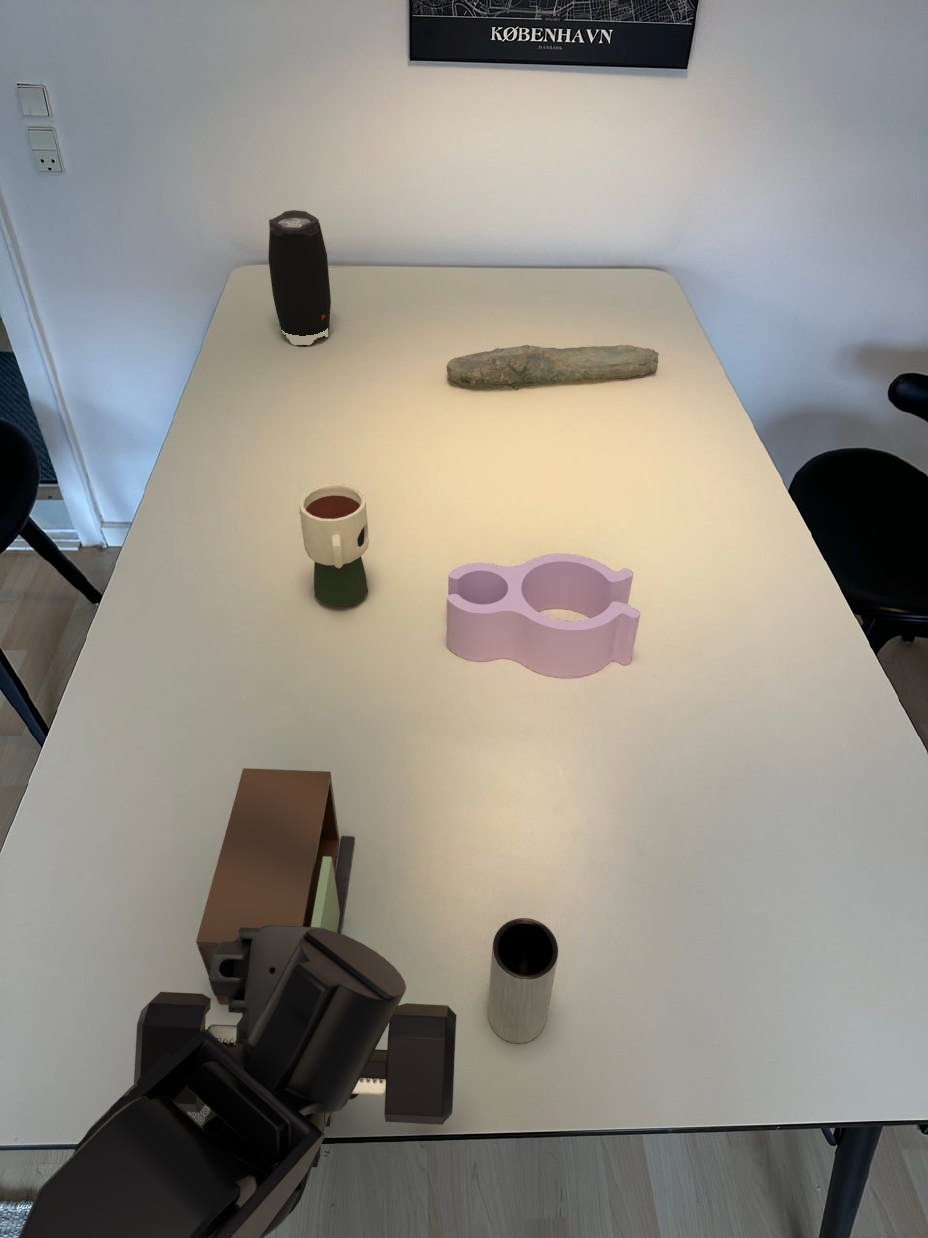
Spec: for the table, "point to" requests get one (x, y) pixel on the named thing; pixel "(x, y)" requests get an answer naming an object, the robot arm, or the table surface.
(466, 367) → the elongated rock
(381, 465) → the table surface
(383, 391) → the table surface
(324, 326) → the portable speaker
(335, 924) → the sliding door
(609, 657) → the clip
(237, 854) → the cupboard
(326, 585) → the character mug
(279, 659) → the table surface
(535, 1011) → the grey hollow tube
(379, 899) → the table surface
